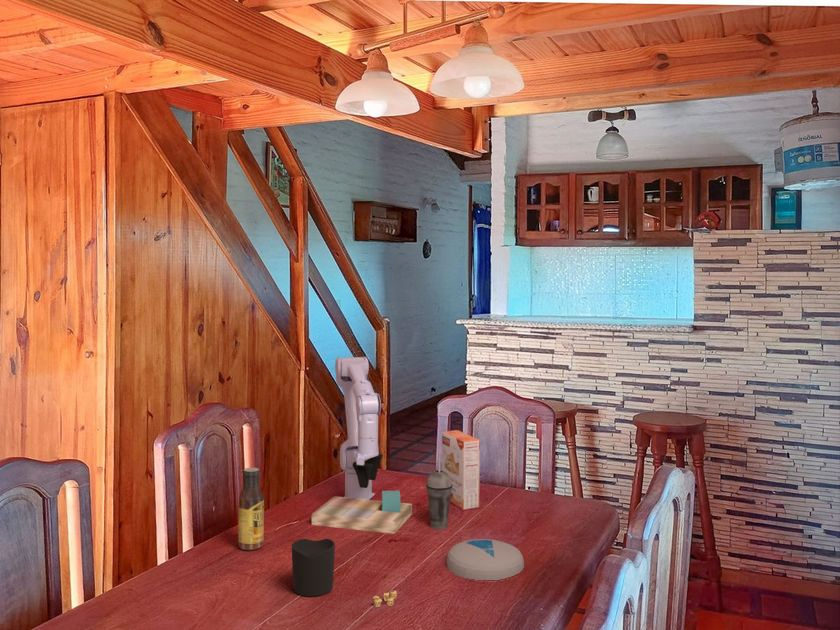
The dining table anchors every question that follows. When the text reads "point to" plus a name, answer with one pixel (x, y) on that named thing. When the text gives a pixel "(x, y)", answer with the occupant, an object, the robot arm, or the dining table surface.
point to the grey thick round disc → (485, 559)
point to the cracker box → (462, 467)
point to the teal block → (391, 501)
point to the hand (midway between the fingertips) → (367, 483)
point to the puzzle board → (363, 521)
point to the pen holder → (313, 566)
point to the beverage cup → (439, 497)
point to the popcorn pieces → (386, 598)
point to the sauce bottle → (251, 512)
